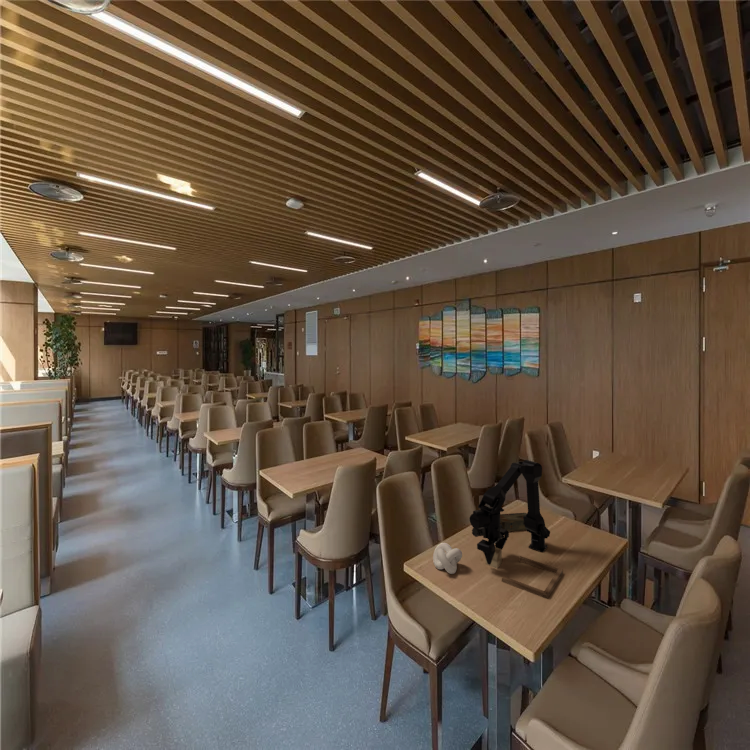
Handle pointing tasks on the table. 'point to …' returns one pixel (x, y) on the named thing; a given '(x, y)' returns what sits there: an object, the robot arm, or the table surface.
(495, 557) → the oak block
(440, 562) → the white decorative knot
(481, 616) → the table surface
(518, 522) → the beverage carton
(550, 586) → the bay
